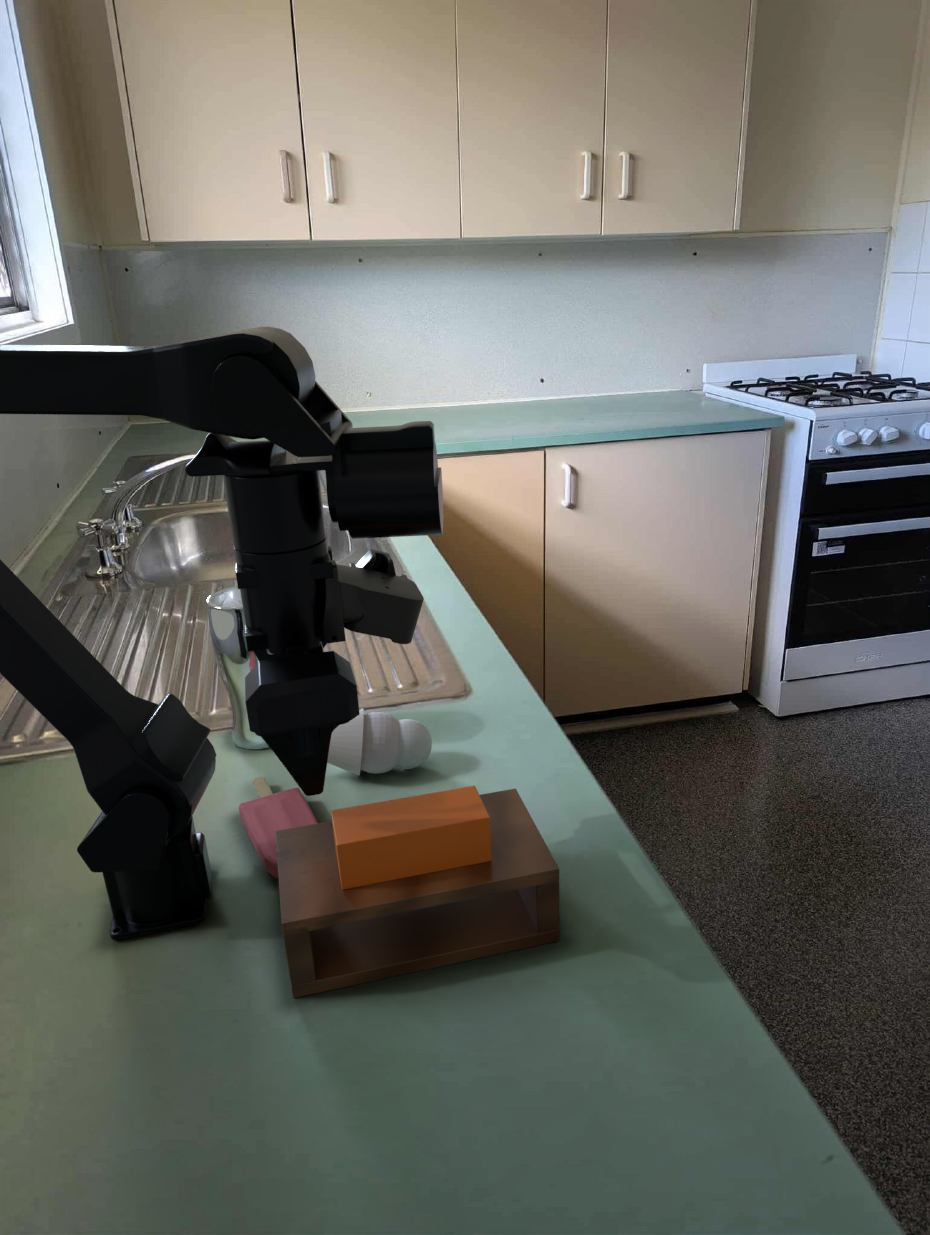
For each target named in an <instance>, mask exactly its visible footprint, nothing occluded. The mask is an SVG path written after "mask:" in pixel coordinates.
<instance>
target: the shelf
mask: <svg viewBox="0 0 930 1235" xmlns="http://www.w3.org/2000/svg"><path fill="white" fill-rule="evenodd" d="M479 796H480V798H481V800H482V802H483V804H484V806H485V808H486V811H487V813H488V815H489V817H490V835H491V857H492V860H491V861H489V862H484V863H479V864H474V865H468V866H463V867H458V868H453V869H448V870H442V871H437V872H432V873H427V874H422V875H417V876H411V877H406V878H401V879H396V880H391V881H386V882H380V883H375V884H370V885H365V886H360V887H355V888H349V889H344V890H342V886H341V880H340V874H339V868H338V862H337V856H336V849H335V841H334V833H333V825H332V820H329V821H322V822H318V823H317V824H311V825H306V826H300V827H294V828H289V829H283V830H277V831H275V833H276V848H277V864H278V879H277V880H278V894H279V908H280V926H281V930H282V937H283V943H284V949H285V950H284V951H285V955H286V962H287V968H288V975H289V981H290V987H291V994H292V998H293V999H295V998H300V997H305V996H310V995H315V994H319V993H323V992H328V991H332V990H338V989H342V988H346V987H351V986H356V985H362V984H365V983H369V982H374V981H375V982H376V981H380V980H383V979H384V980H385V979H388V978H393V977H394V978H395V977H398V976H402V975H407V974H412V973H415V972H416V973H417V972H421V971H425V970H432V969H435V968H440V967H445V966H450V965H453V964H459V963H463V962H467V961H473V960H477V959H481V958H486V957H490V956H495V955H501V954H505V953H509V952H515V951H518V950H523V949H528V948H533V947H537V946H543V945H547V944H551V943H556V942H560V941H561V929H560V928H561V923H560V922H561V920H560V915H561V913H560V912H561V910H560V909H561V908H560V904H561V903H560V867H559V866H558V864H557V862H556V860H555V858H554V856H553V854H552V852H551V851H550V848H549V847H548V845H547V843H546V841H545V840H544V837H543V836H542V834H541V833H540V830H539V829H538V827H537V825H536V823H535V821H534V819H533V818H532V816H531V814H530V812H529V810H528V808H527V807H526V804H525V803H524V800H523V799H522V797H521V795H520V794H519V792H518V790H517V788H510V789H504V790H500V791H499V790H498V791H493V792H487V793H481V794H479Z"/></svg>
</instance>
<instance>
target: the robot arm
mask: <svg viewBox="0 0 930 1235" xmlns="http://www.w3.org/2000/svg"><path fill="white" fill-rule="evenodd" d="M316 377H317V376H316V372H315V367H314V362H313V360H312V358H311V356H310V355H309V353H308V351H307V349H306V347H305V346H304V345H303V344H302V343H301V342H300V341H299V340H298V339H297V338H296V337H295V336H294V335H293V334H292V333H291V332H288V331H286V330H284V329H282V328H278V327H273V326H257V327H251V328H246V329H240V330H235V331H229V332H224V333H218V334H213V335H212V334H211V335H206V336H201V337H196V338H192V339H186V340H181V341H175V342H170V343H164V344H158V345H152V346H151V345H72V344H71V345H70V344H69V345H68V344H67V345H66V344H65V345H62V344H59V345H58V344H0V415H55V416H56V415H57V416H58V415H63V416H65V415H66V416H67V415H68V416H69V415H70V416H71V415H72V416H75V415H76V416H140V417H141V416H142V417H143V416H144V417H147V418H153V419H159V420H163V421H167V422H170V423H172V424H175V425H178V426H181V427H184V428H187V429H189V430H190V429H191V430H194V431H198V432H199V431H200V432H204V433H207V435H206V436H205V439H204V441H203V444H202V446H201V448H200V450H199V451H198V452H197V453H196V455H195V456H194V457H193V458H192V459H191V460H190V461H189V462H188V463H187V464H186V465H185V467H184V472H185V474H186V475H187V476H189V477H191V478H194V477H195V478H197V477H216V476H217V477H218V476H222V480H223V486H224V491H225V498H226V506H227V512H228V519H229V526H230V531H231V538H232V544H233V545H232V546H233V552H234V558H235V559H234V560H235V577H236V584H237V585H236V586H238V589H240V592H241V598H242V605H243V611H244V618H245V624H246V625H245V636H246V643H247V649H248V651H254V653H255V655H256V657H257V658H258V660H259V661H258V663H257V664H256V665H255V666H254V667H253V668H252V670H251V671H250V672H249V673H248V674H247V676H246V677H245V703H246V709H247V715H248V721H249V728H250V731H251V732H254V733H255V734H256V735H257V736H261V737H262V739H263V740H264V741H265V742H266V743H267V745H268V746H269V747H270V748H269V749H270V750H271V751H272V752H273V754H274V755H275V756H276V757H277V759H278V760H279V761H280V763H281V764H282V765H283V767H284V768H285V769H286V771H287V772H288V773H289V775H290V776H291V777H292V779H293V780H294V781H295V783H296V784H297V785H298V788H299V789H300V791H301V792H302V793H303V795H305V796H306V797H313V796H318V795H321V794H323V792H324V789H325V781H326V776H327V775H326V774H327V766H328V763H327V761H328V754H329V747H330V741H331V735H332V732H333V731H334V729H336V728H337V727H338V726H339V725H342V724H345V723H348V722H349V721H350V720H352V719H354V718H355V717H357V716H358V715H359V714H360V713H359V709H360V704H359V696H358V686H357V683H356V680H355V679H356V678H355V675H354V672H353V668H352V665H351V662H350V661H349V660H347V659H346V658H344V657H343V656H342V655H340V654H338V653H337V652H336V651H335V650H329V651H325V650H324V649H325V647H326V646H327V645H328V644H334V643H341V642H346V630H347V631H350V632H354V633H356V634H357V633H359V634H363V635H368V636H372V637H373V636H374V637H377V638H383V639H388V640H390V641H391V642H392V643H393V644H399V645H410V644H411V643H412V640H413V637H414V633H415V630H416V628H417V623H418V620H419V617H420V613H421V611H422V607H423V604H424V600H425V597H424V595H423V594H422V592H421V591H420V589H419V587H418V586H417V583H416V582H414V581H413V580H412V579H409V578H408V576H407V575H406V574H403V573H400V575H397V572H396V569H395V564H394V561H393V559H392V557H391V555H390V553H389V552H386V551H382V550H376V549H372V548H369V549H368V550H367V552H366V553H365V554H364V555H363V556H362V557H360V559H359V560H358V562H357V563H353V562H349V564H348V565H343V564H337V561H336V560H335V559H333V558H334V557H333V550H332V548H331V545H328V539H327V538H328V537H327V529H326V520H325V511H324V504H323V503H324V502H323V495H322V494H323V493H322V484H321V474H320V471H324V472H325V487H326V500H327V507H328V513H329V515H330V516H329V517H330V520H331V522H332V524H337V526H338V529H339V531H340V532H343V531H344V532H345V531H347V532H348V534H349V536H350V538H351V539H352V540H357V539H374V538H375V539H376V538H377V539H378V538H379V539H381V538H398V537H424V536H425V537H426V536H442V535H443V534H444V492H443V491H444V490H443V475H442V474H443V473H442V466H441V467H439V461H438V460H439V459H438V450H437V444H436V439H435V438H436V436H435V435H436V434H435V424H434V423H433V421H431V420H419V421H410V422H407V423H403V424H399V425H385V426H364V427H354V426H353V425H354V424H353V422H352V421H351V420H350V418H348V415H346V414H345V413H344V411H342V410H341V408H340V407H339V406H338V404H336V402H335V401H334V400H333V398H332V397H330V395H328V393H327V392H326V391H325V389H324V388H322V386H321V385H320V384H319V383H318V382H317V381H316ZM234 438H237V439H243V440H244V441H237V440H235V439H234ZM260 439H263V440H260ZM264 439H265V440H264ZM246 440H247V441H246ZM0 675H1V676H2V677H3V678H4V679H5V681H7V682H8V683H9V685H11V687H13V688H14V689H15V690H16V691H17V692H18V693H19V694H20V695H21V696H22V697H23V698H24V699H25V700H26V701H27V702H28V703H29V704H30V705H31V706H32V707H33V708H34V709H35V710H36V711H37V712H38V713H39V714H40V715H41V716H43V718H44V719H45V720H47V722H49V724H50V725H51V726H53V728H54V729H55V730H56V731H57V732H59V734H61V736H63V737H64V738H65V739H66V741H67V742H68V743H69V744H70V745H71V747H72V749H73V750H74V754H75V758H76V760H77V763H78V766H79V770H80V773H81V776H82V779H83V783H84V785H85V788H86V791H87V793H88V794H89V796H90V797H91V798H92V800H93V801H94V802H95V804H96V805H97V806H98V807H99V809H100V811H101V813H100V814H99V815H98V816H97V818H96V819H95V821H94V823H93V824H92V825H91V827H90V828H89V830H88V832H87V833H86V834H85V835H84V837H83V838H82V840H81V842H80V843H79V845H78V846H77V847H76V851H77V854H78V855H79V856H80V858H81V859H82V861H83V862H84V864H85V865H86V866H87V868H88V869H89V870H90V871H91V873H102V877H103V880H104V885H105V890H106V893H107V897H108V901H109V905H110V910H111V914H112V916H111V920H110V921H111V922H110V927H109V931H108V932H109V937H110V939H111V940H112V941H117V940H123V939H128V938H133V937H138V936H145V935H149V934H153V933H159V932H165V931H169V930H175V929H179V928H184V927H189V926H195V925H199V924H202V923H203V922H204V921H205V920H206V913H207V911H206V910H207V900H209V899H210V898H211V897H212V893H213V892H212V889H213V873H212V869H211V868H212V867H211V862H210V858H209V857H210V856H209V852H208V847H207V842H206V836H205V834H204V833H203V832H196V827H195V820H194V813H195V811H196V809H197V807H198V805H199V803H200V801H201V800H202V797H203V796H204V794H205V792H206V790H207V788H208V786H209V784H210V782H211V780H212V779H213V777H214V774H215V772H216V761H217V758H216V757H217V752H216V749H215V747H214V745H213V744H212V742H211V741H210V739H209V738H208V737H209V735H210V733H211V732H212V731H211V728H210V727H208V726H206V725H204V724H202V723H201V722H199V721H198V720H196V718H195V717H193V716H192V715H191V714H190V712H189V711H188V710H187V708H186V707H185V706H184V704H183V703H182V700H180V698H178V697H177V696H176V695H174V694H173V693H168V694H167V695H166V696H165V697H164V698H163V699H162V700H161V701H160V702H159V703H156V702H152V701H150V700H147V699H144V698H141V697H140V696H139V697H138V696H136V695H134V694H133V693H130V692H129V691H128V690H127V689H126V688H125V687H124V686H123V684H121V683H120V682H119V681H118V680H117V679H116V678H115V677H114V676H113V675H112V674H111V673H110V672H109V671H108V669H107V668H106V667H104V665H102V663H101V662H100V661H99V660H98V659H97V658H96V657H95V656H94V655H93V654H92V653H91V652H90V651H89V649H87V647H86V646H84V645H83V644H82V642H80V640H79V639H78V638H77V637H76V636H75V635H74V633H72V632H71V631H70V630H69V629H68V628H67V627H66V626H65V625H64V623H63V622H61V620H60V619H58V617H57V616H55V614H54V613H53V612H52V611H51V610H50V609H49V608H48V607H47V606H46V605H45V603H43V602H42V601H41V600H40V599H39V598H38V597H37V595H35V593H34V592H33V591H32V590H31V589H30V588H29V587H28V586H27V585H26V584H25V583H24V582H23V581H22V580H21V579H20V578H19V577H18V576H17V575H16V574H15V573H14V572H13V571H12V570H11V569H10V568H9V566H7V565H6V564H5V562H4V561H2V559H1V558H0Z"/></svg>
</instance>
